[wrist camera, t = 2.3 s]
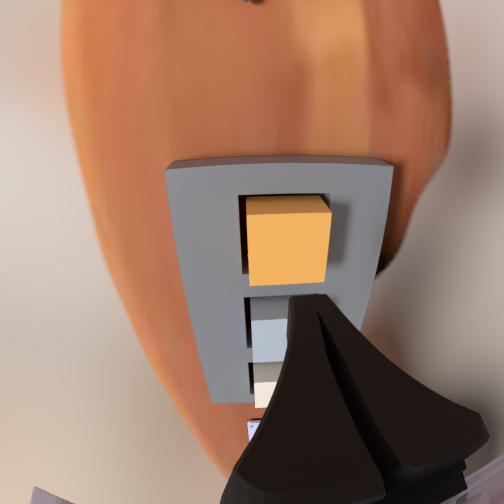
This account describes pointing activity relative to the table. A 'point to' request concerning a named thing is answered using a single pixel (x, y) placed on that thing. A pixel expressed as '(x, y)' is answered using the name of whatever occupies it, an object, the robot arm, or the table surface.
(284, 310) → the slate-blue button
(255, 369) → the cream button
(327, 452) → the robot arm
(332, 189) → the button board
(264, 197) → the orange button
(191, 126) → the table surface
